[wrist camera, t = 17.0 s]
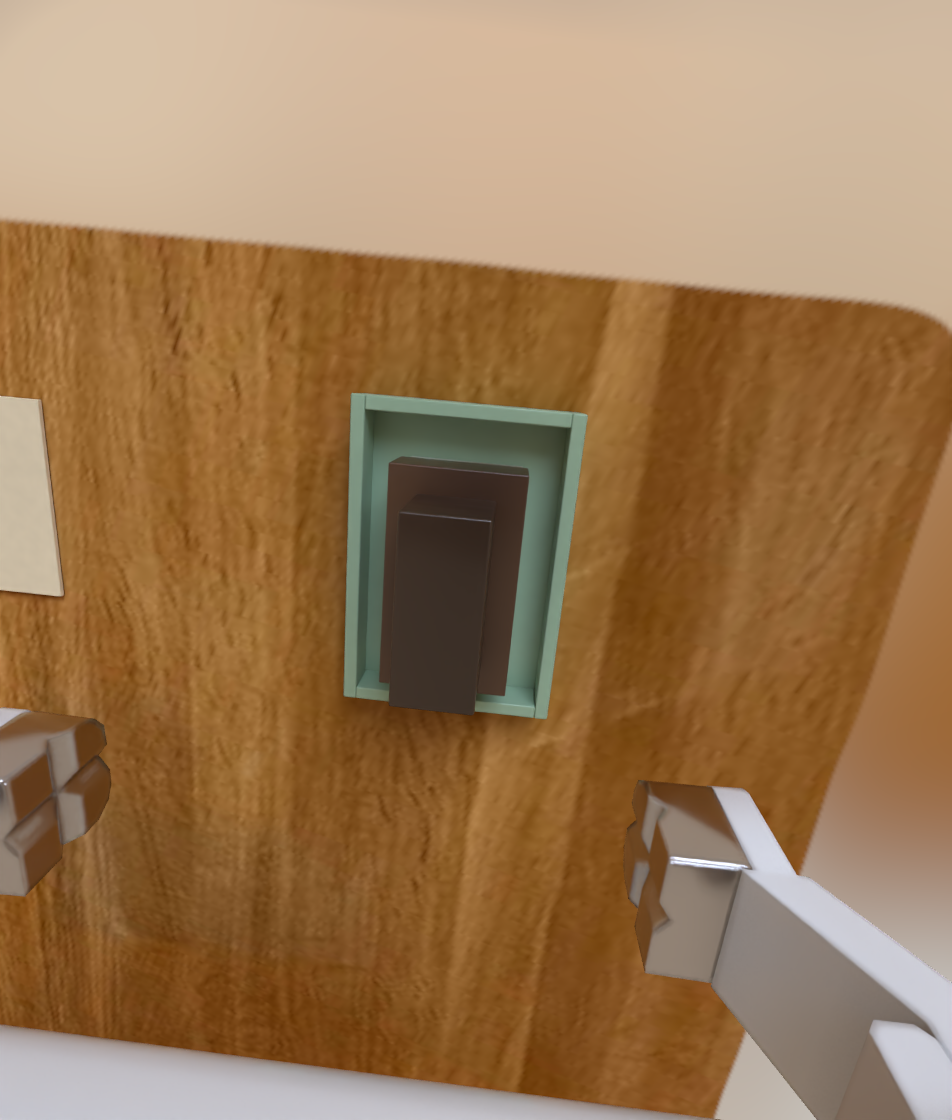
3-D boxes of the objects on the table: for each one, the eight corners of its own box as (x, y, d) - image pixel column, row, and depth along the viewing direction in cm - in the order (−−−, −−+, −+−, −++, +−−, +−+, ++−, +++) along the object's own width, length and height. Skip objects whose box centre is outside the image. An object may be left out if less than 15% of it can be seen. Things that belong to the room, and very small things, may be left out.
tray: (355, 674, 25) (343, 697, 23) (364, 393, 21) (350, 393, 20) (544, 695, 24) (546, 720, 22) (582, 413, 21) (587, 414, 19)
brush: (396, 645, 24) (355, 729, 18) (406, 452, 22) (364, 474, 16) (506, 657, 24) (502, 746, 18) (528, 464, 21) (531, 490, 15)
